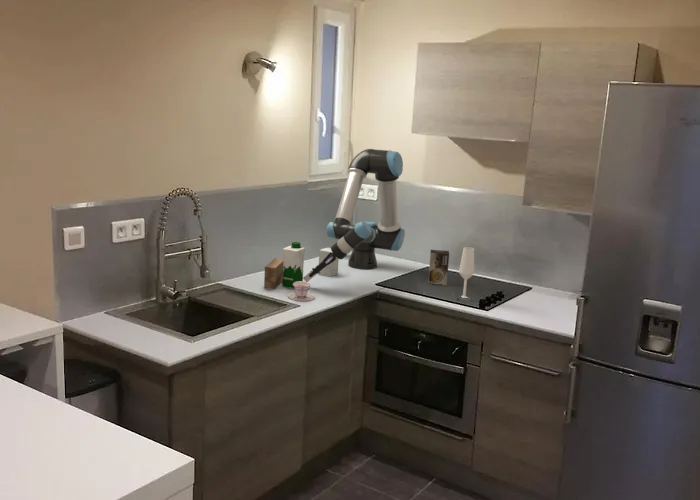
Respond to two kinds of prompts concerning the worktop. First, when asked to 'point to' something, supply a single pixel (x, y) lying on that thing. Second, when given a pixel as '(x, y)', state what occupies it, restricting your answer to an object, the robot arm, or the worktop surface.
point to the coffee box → (438, 267)
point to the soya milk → (293, 264)
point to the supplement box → (332, 267)
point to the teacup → (301, 291)
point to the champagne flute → (467, 266)
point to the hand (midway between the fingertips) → (305, 279)
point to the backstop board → (273, 274)
